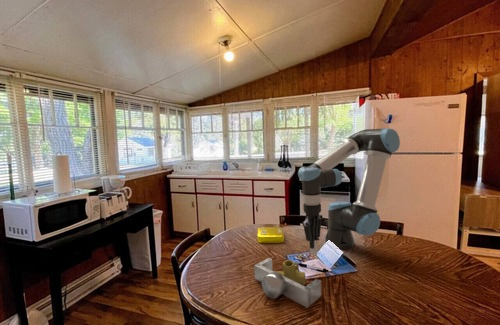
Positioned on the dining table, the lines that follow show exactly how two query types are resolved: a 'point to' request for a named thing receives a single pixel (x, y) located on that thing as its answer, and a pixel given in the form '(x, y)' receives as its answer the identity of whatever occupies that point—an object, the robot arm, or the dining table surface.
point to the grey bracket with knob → (285, 285)
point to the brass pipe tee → (293, 272)
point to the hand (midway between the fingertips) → (313, 254)
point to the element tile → (270, 235)
